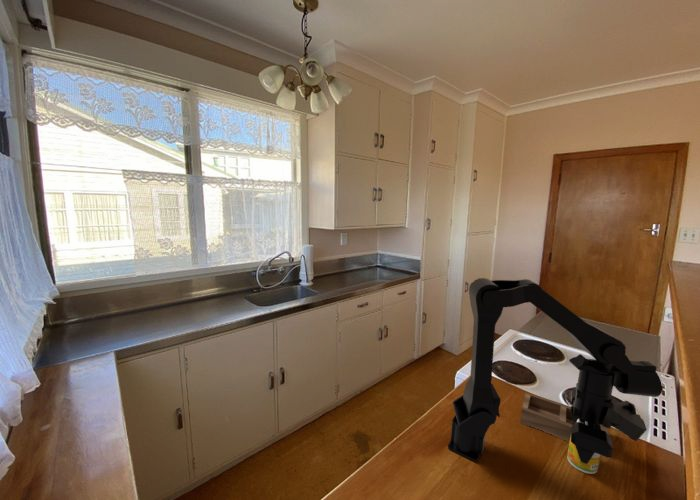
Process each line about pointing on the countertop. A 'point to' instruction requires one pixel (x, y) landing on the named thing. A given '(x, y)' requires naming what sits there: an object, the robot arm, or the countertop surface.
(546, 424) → the walnut trough
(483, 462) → the countertop surface
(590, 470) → the supplement bottle
